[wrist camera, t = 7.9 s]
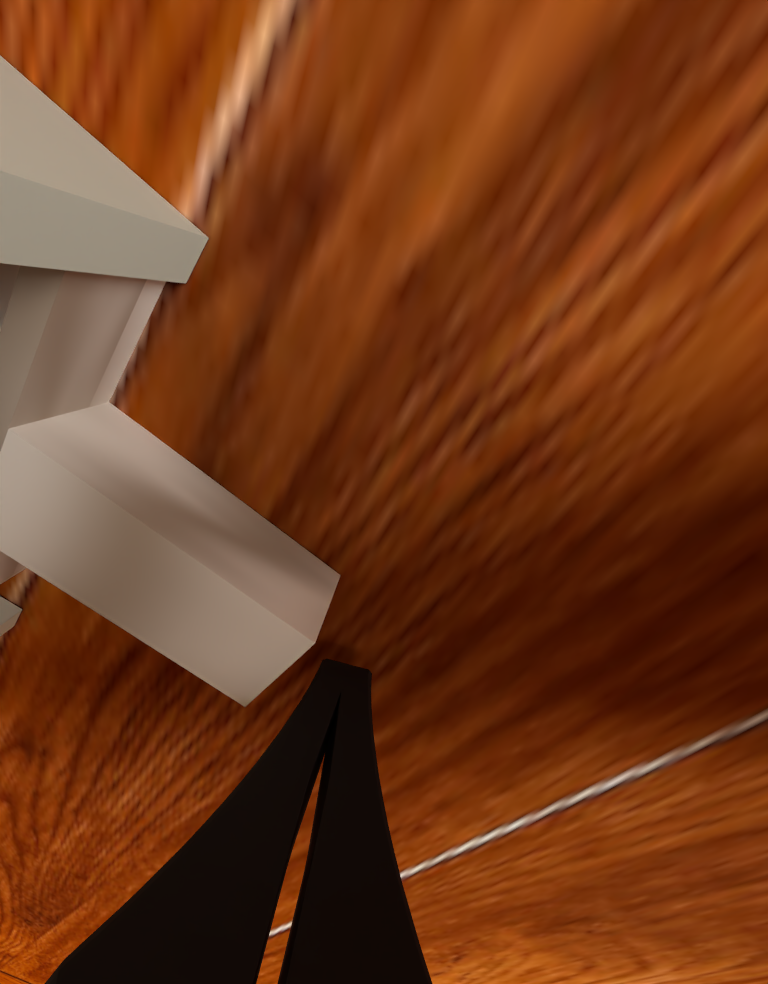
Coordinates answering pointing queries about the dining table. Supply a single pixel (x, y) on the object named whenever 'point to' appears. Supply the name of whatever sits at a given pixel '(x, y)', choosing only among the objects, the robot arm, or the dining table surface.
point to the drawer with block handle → (135, 496)
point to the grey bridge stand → (78, 206)
